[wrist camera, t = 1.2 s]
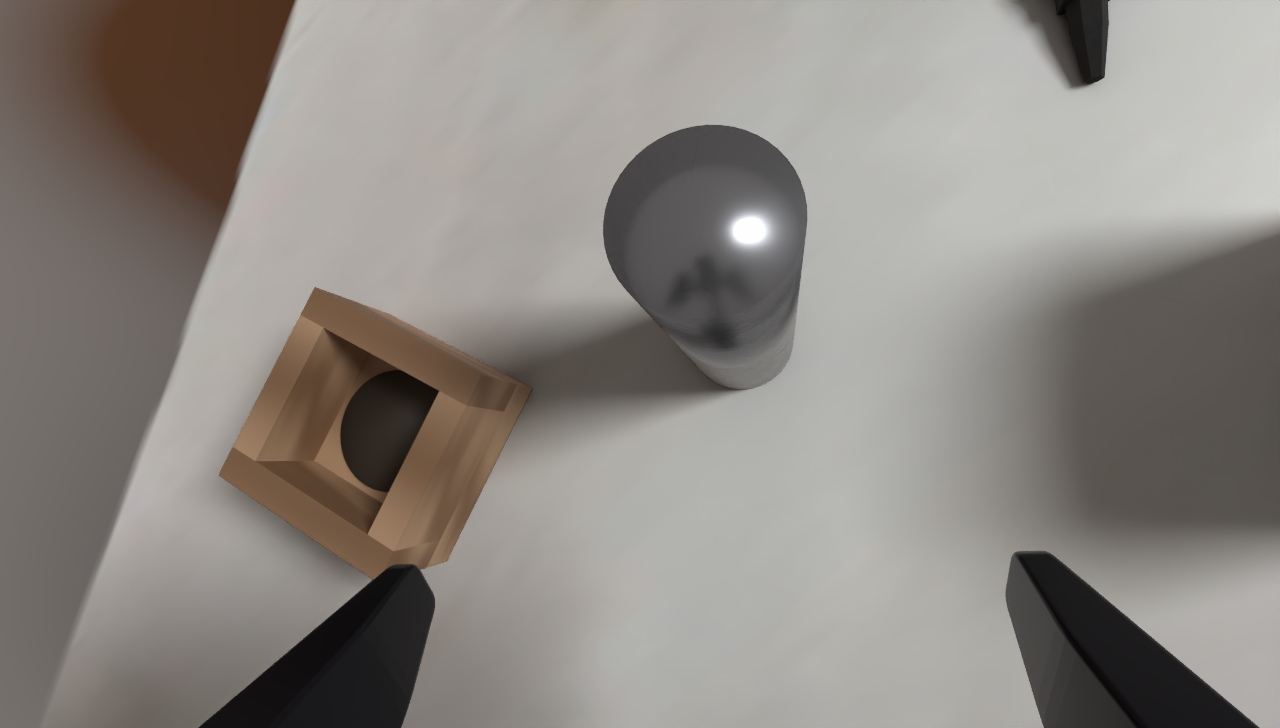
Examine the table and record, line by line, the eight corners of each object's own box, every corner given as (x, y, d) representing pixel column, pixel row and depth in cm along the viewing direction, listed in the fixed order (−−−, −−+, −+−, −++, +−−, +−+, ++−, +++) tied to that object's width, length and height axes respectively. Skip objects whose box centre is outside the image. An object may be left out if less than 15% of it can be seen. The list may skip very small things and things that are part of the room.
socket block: (446, 561, 25) (377, 583, 21) (307, 472, 27) (218, 475, 23) (532, 388, 26) (481, 374, 21) (387, 313, 28) (314, 287, 23)
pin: (766, 406, 23) (751, 354, 11) (673, 363, 24) (570, 273, 12) (810, 313, 23) (842, 163, 11) (717, 274, 25) (657, 99, 12)
